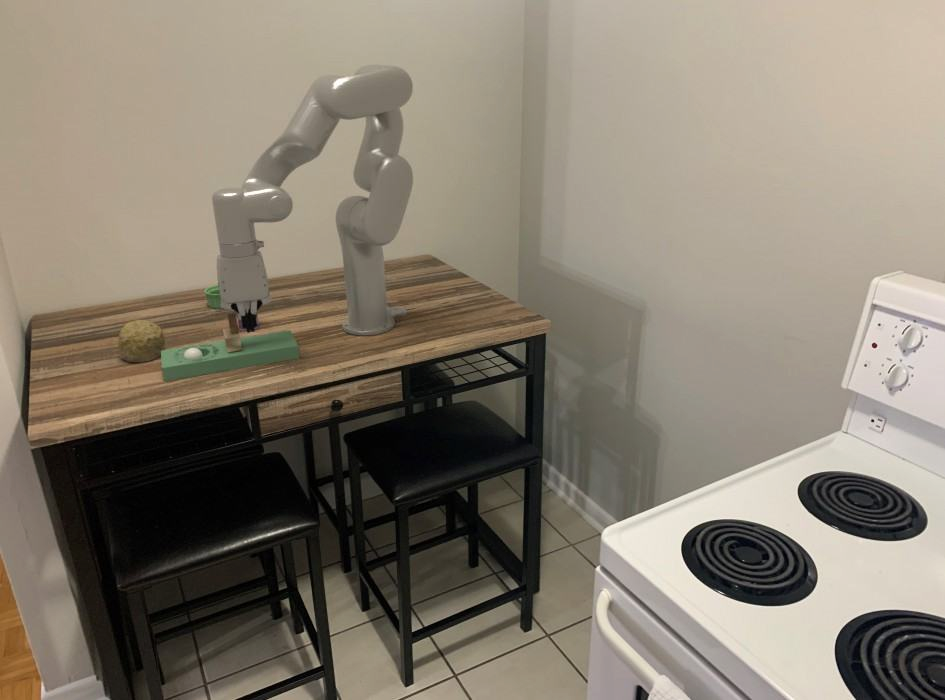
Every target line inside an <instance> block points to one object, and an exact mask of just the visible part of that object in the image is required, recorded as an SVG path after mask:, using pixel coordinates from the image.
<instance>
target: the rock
mask: <svg viewBox="0 0 945 700" xmlns="http://www.w3.org/2000/svg"><path fill="white" fill-rule="evenodd" d="M165 344H166V340H165V333H164V331H163V329H162V328H161V327H160V326H159V325H158V324H156V323H154V322H152V321H150V320H142V319H137V320H132V321H129V322H127V323H125V325H124V326H122V328H121V330H120V332H119V334H118V337H117V345H118V354H119V358H120V359H121V360H123V361H126V362H130V363H131V362H132V363H145V362H150V361H154V360H156V359H158V358H159V357H161V351H162V350H165V346H164V345H165Z"/></svg>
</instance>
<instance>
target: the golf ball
mask: <svg viewBox="0 0 945 700" xmlns="http://www.w3.org/2000/svg"><path fill="white" fill-rule="evenodd" d="M183 357H184V358H186V359H196V358H201V357H203V354H202V352H201V351H200V350H199V349H197V348H190V349H188V350H186V351H185V353H184V355H183Z"/></svg>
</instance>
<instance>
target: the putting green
mask: <svg viewBox="0 0 945 700" xmlns="http://www.w3.org/2000/svg"><path fill="white" fill-rule="evenodd" d="M240 341H241V347H242V350H239V351H233V352H227V348H226V345H225V340H221V341H214V342H207V343H201V344H195V345H189V346H188V345H187V346H183V347H176V348H170V349H164V350H162V351H161V355H160V358H161V372H162V376H163V380H164V382H167V381H168V382H169V381H175V380H179V379H185V378H191V377H197V376H202V375H203V376H204V375H207V374H208V375H209V374H214V373H220V372H226V371H227V372H228V371H231V370H233V371H234V370H238V369H244V368H249V367H250V368H251V367H255V366H262V365H268V364H273V363H278V362H284V361H291V360H296V359H300V352H299V345H298V343H297V340H296V338H295V337H294V335H293V333H292V331H291V329H289V330H284V331H278V332H271V333H270V332H269V333H265V334H264V333H263V334H259V335H253V336H245V337H240ZM190 348H197V349H199V350H200V351H201V352H202V354H203V357H201V358H196V359H186V358H184V357H183V355H184V353H185V351H186V350H188V349H190Z"/></svg>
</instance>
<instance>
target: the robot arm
mask: <svg viewBox="0 0 945 700" xmlns="http://www.w3.org/2000/svg"><path fill="white" fill-rule="evenodd" d="M413 91H414V87H413V80H412V78H411V75H410V74H409V73H408V72H407V71H406V70H405V69H404V68H402V67H399V66H398V65H397V66H396V65H383V64H382V65H381V64H367V65H364V66H363V65H362V66H361V67H360V68H358V69H357V70H356V71H355V73H354V74H353V75H351V74H350V75H332V74H325V75H321V76H319V77H318V78H316V79H315V80H314V81H313V82H312V84H310V87H309V89H307V92H306V94H305V96H303V98H302V101H301V102H300V104H299V106H298V107H297V109H296V111H295V112H294V114H293V116H292V118H291V119H290V121H289V123H288V124H287V126H286V128H285V129H284V131H283V132H282V134H281V135H280V136H278V138H276V139H275V141H273V142H272V144H271V145H270V146H269V147H268V148H267V149H265V151H264V152H263V153H262V154H261V155H260V156H259V157H258V159H257V160H256V161H255V163H254V165H253V166H252V168H251V170H249V173H248V174H247V177H246V178H245V180H244V182H243V184H242V186H241V187H229V188H228V187H227V188H221V189H218V190H216V191H214V192H213V194H212V197H211V201H212V208H213V214H214V215H213V216H214V221H215V228H216V236H217V241H218V247H219V255H217V256H216V277H217V285H218V287H219V293H220V297H221V301H220V306H221V308H224V309H226V310H233V311H234V312H236V314H237V313H239V314H240V315H241V321H242V327H243V328H246V331H245V332H246V333H248V334H249V333H251V332H252V333H254V332H255V330H256V329H255V330H254V327H256V326H257V322H256V315H255V314H256V313H257V314H258V311H259V309H260V308H261V307H262V306H263V305H266V304H269V303H271V302H272V300H273V299H272V297H271V295H270V292H271V291H270V286H269V279H268V274H267V269H266V266H265V261H264V258H263V255H262V252H261V251H259V250H260V249H261V248H265V243H264V240H259V239H257V237H256V236H257V235H256V229H255V223H271V224H272V223H277V222H278V223H279V222H282V221H284V220H286V219H287V218H288V217H289V216H290V214H291V213H292V211H293V205H294V203H293V199H292V197H291V195H290V194H289V193H288V191H286V190H285V189H283V188H282V187H281V186H282V185H283V183H284V182H285V181H286V179H287V178H288V176H290V175H291V173H292V172H294V171H295V170H296V169H298V168H299V167H301V166H303V165H305V164H307V163H310V162H312V161H314V160H315V159H317V158H318V157H319V156H320V155H321V153H322V152H323V150H324V149H325V146H326V145H327V143H328V141H329V139H330V138H331V136H332V134H333V132H334V131H335V129H336V128H337V126H338V124H339V122H340V121H341V120H345V121H347V120H357V119H363V118H365V128H364V130H363V131H364V132H363V137H362V140H361V144H360V147H359V149H358V150H359V151H358V153H357V157H356V160H355V163H354V169H353V172H352V173H353V179H354V183H355V184H356V186H358V187H359V188H360V189H362V190H364V191H366V192H369V196H368V197H366V196H363V195H351V196H348V197H346V198H345V199H343V200H342V201H341V202H340V203H339V204H338V207H337V209H336V213H335V225H336V229H337V230H336V231H337V234H338V238H339V241H340V242H339V243H340V247H341V253H342V254H341V255H342V263H343V275H344V285H345V296H346V309H347V317H346V319H344V320H343V322H342V329H343V332H344V331H345V332H346V333H348V334H351V335H356V336H373V335H380V334H383V333H386V332H388V331H390V330H392V329H393V328H394V326H395V324H396V323H395V318H396V317H403V316H404V317H405V316H407V315H408V311H407V308H406V307H399V306H398V305H396V306H393V307H392V306H391V307H389V305H388V300H387V287H386V276H385V275H386V273H385V258H384V257H385V256H384V250H383V246H386V245H388V244H390V243H392V242H393V240H395V238H396V237H397V235H398V233H399V231H400V229H401V226H402V225H403V224H402V223H403V220H404V217H405V213H406V210H407V206H408V203H409V200H410V197H411V192H412V190H413V186H414V185H413V184H414V176H413V175H414V174H413V169H412V167H411V165H410V163H409V161H408V160H407V159H406V158H405V157H403V156H402V155H399V152H400V149H401V145H402V139H403V135H404V119H403V115H402V111H401V107H403V106H405V105H406V104H407V103H408V102H409V101H410V99H411V97H412V94H413ZM248 301H250V302H249V309H248V314H247V312H246V310H245V309H244V307H243V304H242V302H248ZM250 330H251V331H250Z"/></svg>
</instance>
